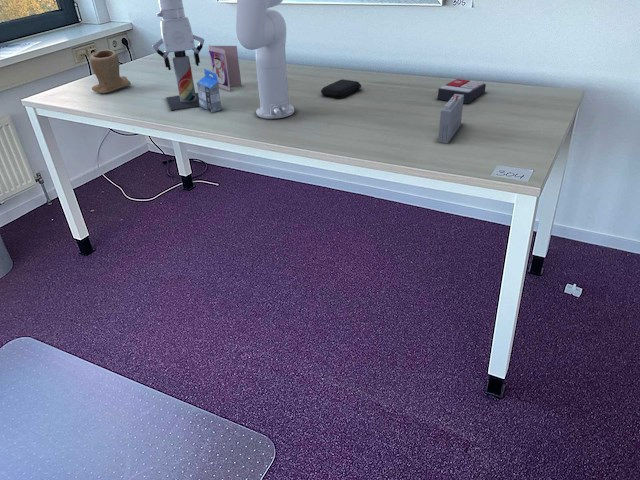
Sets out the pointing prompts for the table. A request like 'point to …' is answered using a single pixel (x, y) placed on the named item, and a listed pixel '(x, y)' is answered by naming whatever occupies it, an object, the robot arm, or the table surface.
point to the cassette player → (450, 118)
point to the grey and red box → (462, 90)
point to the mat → (178, 105)
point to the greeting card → (225, 65)
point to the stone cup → (107, 71)
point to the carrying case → (341, 88)
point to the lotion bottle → (184, 77)
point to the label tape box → (209, 92)
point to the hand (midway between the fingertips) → (183, 67)
